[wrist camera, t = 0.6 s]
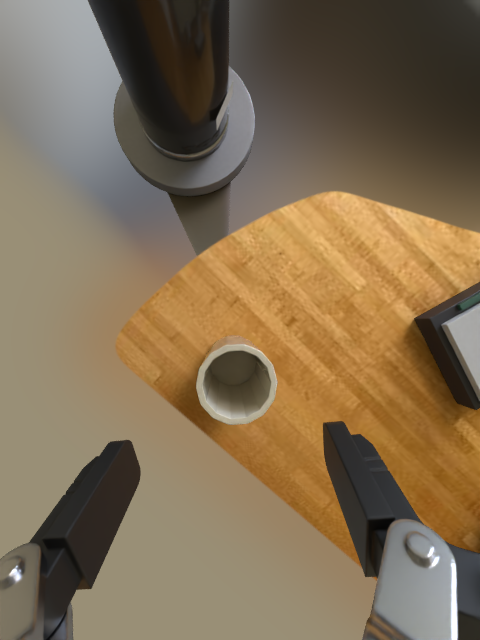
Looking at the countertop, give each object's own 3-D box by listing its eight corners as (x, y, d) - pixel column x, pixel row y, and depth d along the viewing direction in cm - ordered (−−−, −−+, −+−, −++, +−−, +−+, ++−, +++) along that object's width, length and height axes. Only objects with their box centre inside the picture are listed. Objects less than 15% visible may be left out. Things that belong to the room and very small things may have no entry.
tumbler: (196, 351, 29) (181, 369, 19) (244, 325, 29) (254, 329, 19) (221, 397, 29) (219, 439, 19) (268, 371, 29) (291, 399, 19)
